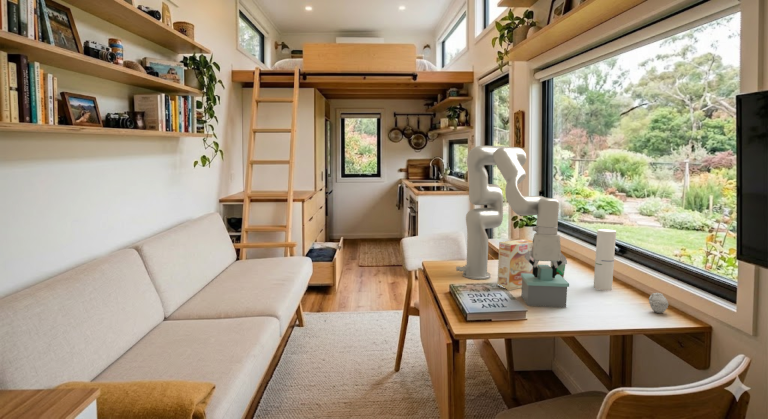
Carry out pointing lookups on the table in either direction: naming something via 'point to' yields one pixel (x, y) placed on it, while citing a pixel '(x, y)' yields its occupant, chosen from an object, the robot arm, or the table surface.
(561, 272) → the food container
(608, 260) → the cylindrical container
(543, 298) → the storage box
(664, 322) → the table surface
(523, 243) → the coffeecake box
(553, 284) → the lid
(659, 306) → the grey rock
